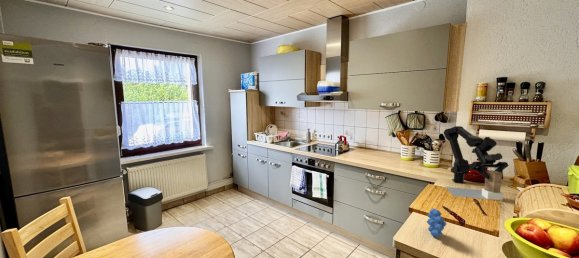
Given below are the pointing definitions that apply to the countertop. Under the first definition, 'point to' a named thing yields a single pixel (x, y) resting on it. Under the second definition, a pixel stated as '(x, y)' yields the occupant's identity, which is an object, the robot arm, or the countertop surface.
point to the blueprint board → (475, 193)
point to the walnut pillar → (493, 181)
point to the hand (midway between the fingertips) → (495, 179)
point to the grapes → (435, 223)
